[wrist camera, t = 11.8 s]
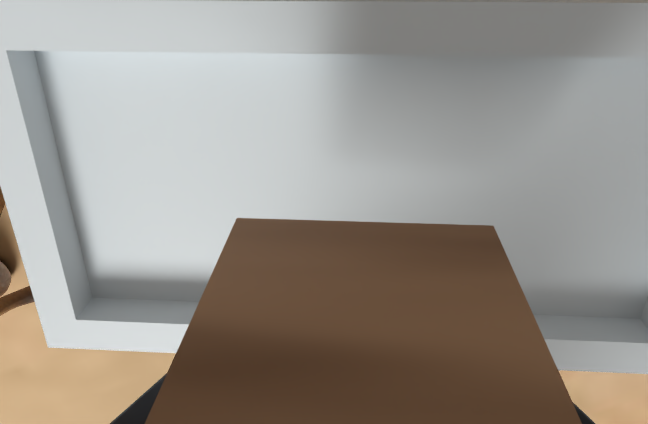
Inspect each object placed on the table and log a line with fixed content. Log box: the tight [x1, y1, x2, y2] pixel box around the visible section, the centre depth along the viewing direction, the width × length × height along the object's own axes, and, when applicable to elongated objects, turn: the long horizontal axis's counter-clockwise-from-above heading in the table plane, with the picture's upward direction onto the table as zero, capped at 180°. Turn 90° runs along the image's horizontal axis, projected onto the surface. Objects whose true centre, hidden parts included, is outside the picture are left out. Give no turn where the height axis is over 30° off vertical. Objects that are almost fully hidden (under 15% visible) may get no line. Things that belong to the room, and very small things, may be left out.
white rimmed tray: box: [0, 0, 648, 374], centre depth 14 cm, size 9×17×4 cm, turn 90°
